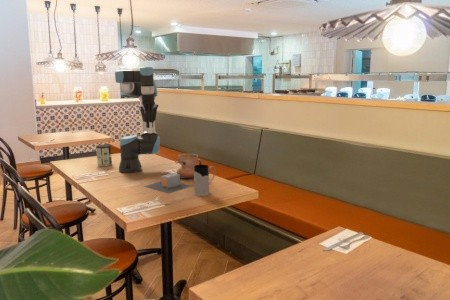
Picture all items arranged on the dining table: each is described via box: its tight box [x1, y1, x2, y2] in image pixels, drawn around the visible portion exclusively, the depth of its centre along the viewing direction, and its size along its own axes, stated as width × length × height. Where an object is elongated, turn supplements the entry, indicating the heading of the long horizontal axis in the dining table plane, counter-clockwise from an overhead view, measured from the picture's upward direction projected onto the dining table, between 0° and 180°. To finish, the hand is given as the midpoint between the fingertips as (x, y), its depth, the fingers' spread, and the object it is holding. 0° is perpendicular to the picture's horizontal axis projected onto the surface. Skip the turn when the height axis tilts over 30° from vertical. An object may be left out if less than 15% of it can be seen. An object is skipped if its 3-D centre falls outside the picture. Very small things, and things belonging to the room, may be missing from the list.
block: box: [160, 172, 181, 188], centre depth 217 cm, size 6×6×9 cm
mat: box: [143, 180, 193, 194], centre depth 216 cm, size 22×18×1 cm
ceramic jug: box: [175, 153, 203, 180], centre depth 236 cm, size 18×14×14 cm
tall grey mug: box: [193, 164, 216, 197], centre depth 204 cm, size 9×14×15 cm, turn 135°
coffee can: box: [95, 144, 113, 167], centre depth 274 cm, size 10×10×14 cm
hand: (150, 132), depth 227 cm, fingers closed
